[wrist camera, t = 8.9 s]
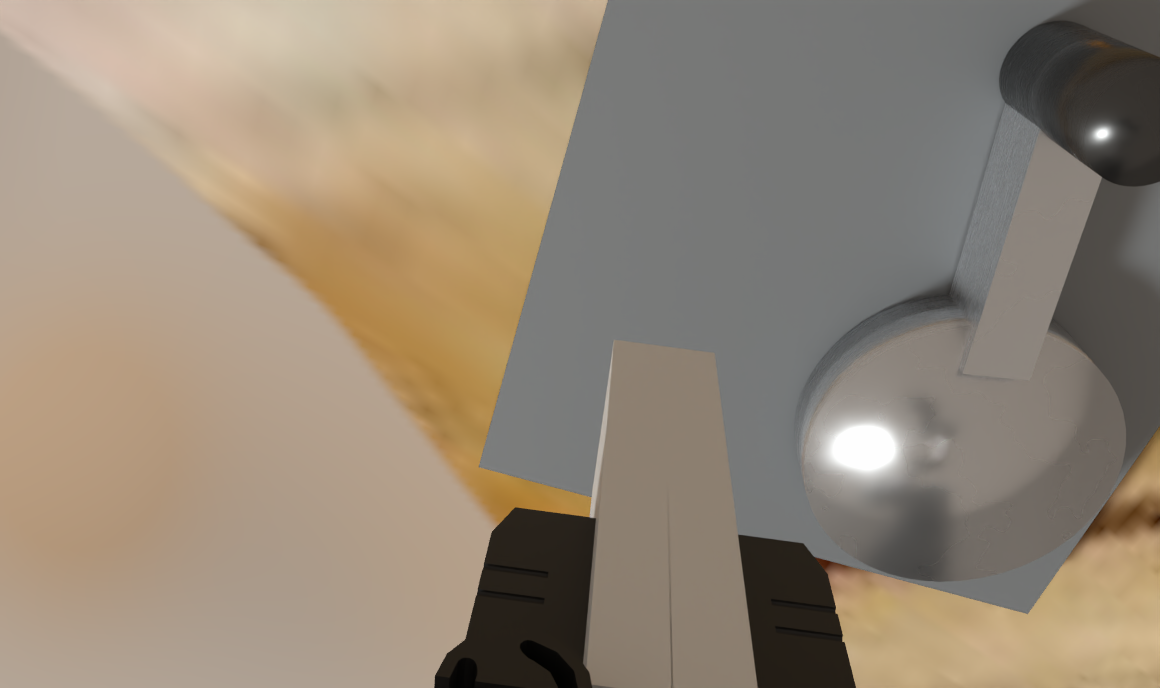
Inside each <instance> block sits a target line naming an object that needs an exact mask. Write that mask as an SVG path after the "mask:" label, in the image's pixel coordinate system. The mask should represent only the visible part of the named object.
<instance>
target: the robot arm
mask: <svg viewBox="0 0 1160 688" xmlns="http://www.w3.org/2000/svg"><path fill="white" fill-rule="evenodd" d="M835 609H836V606H835V602H834V598H833V594H832V590H831V586H830V582H829V578H828V574H827V573H826V572H825V570H824V569H823V568H822V566H821V565H820V564H819V563H818V561H817V560H816V559H815V557H814V556H813V555H812V554H811V552H810V551H809V550H808V548H807V547H806V546H805V545H804V543H798V542H791V541H783V540H776V539H768V538H761V537H753V536H746V535H738V531H737V524H736V516H735V508H734V500H733V492H732V485H731V477H730V469H729V461H728V454H727V446H726V438H725V430H724V422H723V415H722V407H721V399H720V391H719V384H718V376H717V368H716V360H715V353H712V352H704V351H696V350H689V349H681V348H673V347H666V346H658V345H651V344H643V343H635V342H628V341H620V340H614V343H613V350H612V357H611V364H610V371H609V378H608V385H607V392H606V399H605V406H604V413H603V420H602V427H601V434H600V441H599V448H598V455H597V462H596V469H595V476H594V483H593V490H592V500H591V510H590V517H583V516H575V515H568V514H560V513H553V512H545V511H538V510H530V509H523V508H514V509H513V510H512V511H511V512H510V514H509V515H508V516H507V517H506V518H505V519H504V520H503V521H502V522H501V523H500V524H499V525H498V526H497V527H496V528H495V529H494V530H493V531H492V533H491V538H490V542H489V546H488V550H487V554H486V558H485V562H484V568H483V570H482V574H481V578H480V582H479V587H478V592H477V596H476V599H475V603H474V607H473V611H472V615H471V619H470V623H469V627H468V631H467V635H466V639H465V640H464V641H463V642H462V643H460V644H459V645H458V646H457V647H455V648H454V649H453V650H452V651H450V652H449V653H447V655H446V657H445V659H444V660H443V662H442V664H441V666H440V668H439V670H438V671H437V673H436V675H435V687H434V688H856V686H855V682H854V678H853V674H852V670H851V666H850V662H849V658H848V654H847V650H846V646H845V642H842V636H843V634H842V630H841V626H840V622H839V618H838V614H835Z"/></svg>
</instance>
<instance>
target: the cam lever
mask: <svg viewBox="0 0 1160 688" xmlns="http://www.w3.org/2000/svg"><path fill="white" fill-rule="evenodd" d="M999 87H1000V92H1001V95H1002V98H1003V100H1004V102H1005V105H1004V109H1003V112H1002V115H1001V119H1000V122H999V126H998V129H997V133H996V136H995V139H994V143H993V146H992V150H991V153H990V156H989V160H988V163H987V167H986V170H985V173H984V177H983V180H982V184H981V187H980V190H979V194H978V197H977V201H976V204H975V208H974V211H973V214H972V218H971V221H970V225H969V228H968V231H967V235H966V238H965V242H964V245H963V248H962V252H961V255H960V259H959V262H958V266H957V269H956V272H955V276H954V279H953V283H952V286H951V289H950V293H949V294H938V295H933V296H927V297H922V298H918V299H914V300H911V301H908V302H905V303H901V304H898V305H896V306H894V307H891V308H889V309H887V310H884V311H882V312H880V313H878V314H876V315H874V316H872V317H871V318H869V319H867V320H865V321H864V322H862V323H860V324H859V325H858V326H856V327H855V328H853V329H852V330H851V331H849V332H848V333H847V334H845V335H844V336H843V337H842V338H841V339H840V340H839V341H838V342H837V343H835V344H834V345H833V346H832V347H831V348H830V349H829V350H828V352H827V353H826V354H825V355H824V356H823V358H822V359H821V360H820V361H819V362H818V364H817V365H816V367H815V368H814V370H813V372H812V373H811V375H810V376H809V378H808V380H807V382H806V384H805V386H804V389H803V391H802V393H801V396H800V399H799V403H798V406H797V410H796V417H795V424H794V431H795V445H796V451H797V456H798V460H799V464H800V469H801V473H802V477H803V481H804V486H805V490H806V494H807V498H808V500H809V503H810V506H811V509H812V512H813V513H814V515H815V517H816V519H817V521H818V522H819V524H820V526H821V527H822V528H823V530H824V531H825V532H826V533H827V535H828V536H829V537H830V538H831V539H832V540H833V541H834V542H835V543H836V544H837V545H838V546H839V547H840V548H841V549H842V550H844V551H845V552H847V553H848V554H849V555H851V556H852V557H854V558H855V559H857V560H859V561H861V562H862V563H864V564H866V565H868V566H870V567H872V568H875V569H877V570H880V571H882V572H885V573H888V574H892V575H895V576H899V577H903V578H908V579H915V580H921V581H936V582H948V581H964V580H972V579H979V578H984V577H988V576H992V575H997V574H1001V573H1004V572H1007V571H1010V570H1013V569H1016V568H1019V567H1021V566H1023V565H1026V564H1028V563H1030V562H1032V561H1035V560H1037V559H1039V558H1040V557H1042V556H1044V555H1046V554H1048V553H1049V552H1051V551H1053V550H1055V549H1056V548H1057V547H1059V546H1060V545H1062V544H1063V543H1065V542H1066V541H1067V540H1069V539H1070V538H1071V537H1073V536H1074V535H1075V534H1076V533H1077V532H1078V531H1079V530H1080V529H1082V528H1083V527H1084V526H1085V525H1086V524H1087V523H1088V522H1089V521H1090V519H1091V518H1092V517H1093V516H1094V515H1095V514H1096V513H1097V512H1098V510H1099V509H1100V508H1101V506H1102V505H1103V503H1104V502H1105V500H1106V499H1107V498H1108V496H1109V494H1110V492H1111V490H1112V489H1113V487H1114V485H1115V483H1116V481H1117V478H1118V476H1119V473H1120V470H1121V467H1122V464H1123V459H1124V454H1125V448H1126V426H1125V420H1124V413H1123V410H1122V407H1121V404H1120V402H1119V399H1118V396H1117V394H1116V393H1115V391H1114V389H1113V387H1112V386H1111V384H1110V382H1109V381H1108V380H1107V378H1106V377H1105V376H1104V375H1103V373H1102V372H1101V371H1100V370H1099V369H1098V367H1097V366H1096V365H1095V364H1094V363H1093V362H1092V360H1091V359H1090V358H1089V357H1088V356H1087V355H1086V353H1085V352H1084V351H1083V350H1082V349H1081V347H1080V346H1079V345H1078V344H1077V343H1076V342H1075V340H1074V339H1073V338H1072V337H1071V336H1070V335H1069V333H1068V332H1067V331H1066V330H1065V329H1064V328H1062V327H1061V326H1060V325H1059V324H1058V323H1057V322H1055V321H1054V320H1053V319H1052V316H1053V314H1054V311H1055V308H1056V305H1057V302H1058V300H1059V297H1060V294H1061V291H1062V288H1063V286H1064V283H1065V280H1066V277H1067V274H1068V272H1069V269H1070V266H1071V263H1072V260H1073V258H1074V255H1075V252H1076V249H1077V246H1078V243H1079V241H1080V238H1081V235H1082V232H1083V229H1084V227H1085V224H1086V221H1087V218H1088V215H1089V213H1090V210H1091V207H1092V204H1093V201H1094V199H1095V196H1096V193H1097V190H1098V187H1099V185H1100V182H1101V179H1102V178H1104V179H1105V180H1107V181H1109V182H1111V183H1114V184H1117V185H1122V186H1130V187H1137V186H1146V185H1151V184H1154V183H1158V182H1160V57H1158V56H1155V55H1153V54H1151V53H1148V52H1146V51H1143V50H1141V49H1139V48H1136V47H1134V46H1131V45H1129V44H1126V43H1124V42H1122V41H1119V40H1117V39H1114V38H1112V37H1110V36H1107V35H1105V34H1102V33H1100V32H1098V31H1095V30H1093V29H1090V28H1088V27H1086V26H1083V25H1081V24H1078V23H1075V22H1071V21H1052V22H1048V23H1044V24H1042V25H1039V26H1037V27H1035V28H1033V29H1031V30H1030V31H1028V32H1027V33H1025V34H1024V35H1023V36H1022V37H1020V38H1019V39H1018V40H1017V41H1016V42H1015V43H1014V45H1013V46H1012V47H1011V48H1010V50H1009V51H1008V53H1007V55H1006V57H1005V59H1004V61H1003V63H1002V66H1001V70H1000V76H999Z"/></svg>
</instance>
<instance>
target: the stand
mask: <svg viewBox="0 0 1160 688" xmlns="http://www.w3.org/2000/svg"><path fill="white" fill-rule="evenodd" d="M1052 21H1071V22H1075V23H1078V24H1081V25H1083V26H1086V27H1088V28H1090V29H1093V30H1095V31H1098V32H1100V33H1102V34H1105V35H1107V36H1110V37H1112V38H1114V39H1117V40H1119V41H1122V42H1124V43H1126V44H1129V45H1131V46H1134V47H1136V48H1139V49H1141V50H1143V51H1146V52H1148V53H1151V54H1153V55H1155V56H1158V57H1160V0H608V3H607V6H606V10H605V14H604V17H603V21H602V24H601V28H600V32H599V35H598V39H597V43H596V46H595V50H594V53H593V57H592V61H591V64H590V68H589V71H588V75H587V79H586V82H585V86H584V89H583V93H582V97H581V100H580V104H579V107H578V111H577V115H576V118H575V122H574V125H573V129H572V133H571V136H570V140H569V143H568V147H567V151H566V154H565V158H564V161H563V165H562V169H561V172H560V176H559V180H558V183H557V187H556V190H555V194H554V198H553V201H552V205H551V208H550V212H549V216H548V219H547V223H546V226H545V230H544V234H543V237H542V241H541V244H540V248H539V252H538V255H537V259H536V262H535V266H534V270H533V273H532V277H531V280H530V284H529V288H528V291H527V295H526V298H525V302H524V306H523V309H522V313H521V316H520V320H519V324H518V327H517V331H516V335H515V338H514V342H513V345H512V349H511V353H510V356H509V360H508V363H507V367H506V371H505V374H504V378H503V381H502V385H501V389H500V392H499V396H498V399H497V403H496V407H495V410H494V414H493V417H492V421H491V425H490V428H489V432H488V435H487V439H486V443H485V446H484V450H483V453H482V457H481V461H480V464H479V467H481V468H484V469H488V470H492V471H495V472H499V473H503V474H507V475H510V476H514V477H518V478H522V479H525V480H529V481H533V482H537V483H540V484H544V485H548V486H552V487H555V488H559V489H563V490H567V491H570V492H574V493H578V494H581V495H585V496H589V497H592V490H593V483H594V476H595V469H596V462H597V455H598V448H599V441H600V434H601V427H602V420H603V413H604V406H605V399H606V392H607V385H608V378H609V371H610V364H611V357H612V350H613V343H614V340H620V341H628V342H635V343H643V344H651V345H658V346H666V347H673V348H681V349H689V350H696V351H704V352H712V353H715V360H716V368H717V376H718V384H719V391H720V399H721V407H722V415H723V422H724V430H725V438H726V446H727V454H728V461H729V469H730V477H731V485H732V492H733V500H734V508H735V516H736V524H737V531H738V535H746V536H753V537H761V538H768V539H776V540H783V541H791V542H798V543H804V545H805V546H806V547H807V548H808V550H809V551H810V552H811V554H812V555H813V556H814V557H817V558H821V559H824V560H828V561H832V562H836V563H839V564H843V565H847V566H851V567H854V568H858V569H862V570H866V571H869V572H873V573H877V574H881V575H884V576H888V577H892V578H895V579H899V580H903V581H907V582H910V583H914V584H918V585H922V586H925V587H929V588H933V589H937V590H940V591H944V592H948V593H952V594H955V595H959V596H963V597H966V598H970V599H974V600H978V601H981V602H985V603H989V604H993V605H996V606H1000V607H1004V608H1008V609H1011V610H1015V611H1019V612H1023V613H1026V614H1028V613H1029V611H1030V610H1031V609H1032V607H1033V606H1034V604H1035V603H1036V601H1037V600H1038V599H1039V597H1040V596H1041V594H1042V593H1043V591H1044V590H1045V589H1046V587H1047V586H1048V584H1049V583H1050V582H1051V580H1052V579H1053V577H1054V576H1055V574H1056V573H1057V572H1058V570H1059V569H1060V567H1061V566H1062V564H1063V563H1064V562H1065V560H1066V559H1067V557H1068V556H1069V554H1070V553H1071V552H1072V550H1073V549H1074V547H1075V546H1076V544H1077V543H1078V542H1079V540H1080V539H1081V537H1082V536H1083V534H1084V533H1085V532H1086V530H1087V529H1088V527H1089V526H1090V524H1091V523H1092V522H1093V520H1094V519H1095V517H1096V516H1097V515H1098V513H1099V512H1100V510H1101V509H1102V507H1103V506H1104V505H1105V503H1106V502H1107V500H1108V499H1109V497H1110V496H1111V495H1112V493H1113V492H1114V490H1115V489H1116V487H1117V486H1118V485H1119V483H1120V482H1121V480H1122V479H1123V477H1124V476H1125V475H1126V473H1127V472H1128V470H1129V469H1130V467H1131V466H1132V465H1133V463H1134V462H1135V460H1136V459H1137V457H1138V456H1139V455H1140V453H1141V452H1142V450H1143V449H1144V448H1145V446H1146V445H1147V443H1148V442H1149V440H1150V439H1151V438H1152V436H1153V435H1154V433H1155V432H1156V430H1157V429H1158V428H1159V426H1160V182H1158V183H1154V184H1151V185H1146V186H1137V187H1130V186H1122V185H1117V184H1114V183H1111V182H1109V181H1107V180H1105V179H1104V178H1102V179H1101V182H1100V185H1099V187H1098V190H1097V193H1096V196H1095V199H1094V201H1093V204H1092V207H1091V210H1090V213H1089V215H1088V218H1087V221H1086V224H1085V227H1084V229H1083V232H1082V235H1081V238H1080V241H1079V243H1078V246H1077V249H1076V252H1075V255H1074V258H1073V260H1072V263H1071V266H1070V269H1069V272H1068V274H1067V277H1066V280H1065V283H1064V286H1063V288H1062V291H1061V294H1060V297H1059V300H1058V302H1057V305H1056V308H1055V311H1054V314H1053V316H1052V319H1053V320H1054V321H1055V322H1057V323H1058V324H1059V325H1060V326H1061V327H1062V328H1064V329H1065V330H1066V331H1067V332H1068V333H1069V335H1070V336H1071V337H1072V338H1073V339H1074V340H1075V342H1076V343H1077V344H1078V345H1079V346H1080V347H1081V349H1082V350H1083V351H1084V352H1085V353H1086V355H1087V356H1088V357H1089V358H1090V359H1091V360H1092V362H1093V363H1094V364H1095V365H1096V366H1097V367H1098V369H1099V370H1100V371H1101V372H1102V373H1103V375H1104V376H1105V377H1106V378H1107V380H1108V381H1109V382H1110V384H1111V386H1112V387H1113V389H1114V391H1115V393H1116V394H1117V396H1118V399H1119V402H1120V404H1121V407H1122V410H1123V413H1124V420H1125V426H1126V448H1125V454H1124V459H1123V464H1122V467H1121V470H1120V473H1119V476H1118V478H1117V481H1116V483H1115V485H1114V487H1113V489H1112V490H1111V492H1110V494H1109V496H1108V498H1107V499H1106V500H1105V502H1104V503H1103V505H1102V506H1101V508H1100V509H1099V510H1098V512H1097V513H1096V514H1095V515H1094V516H1093V517H1092V518H1091V519H1090V521H1089V522H1088V523H1087V524H1086V525H1085V526H1084V527H1083V528H1082V529H1080V530H1079V531H1078V532H1077V533H1076V534H1075V535H1074V536H1073V537H1071V538H1070V539H1069V540H1067V541H1066V542H1065V543H1063V544H1062V545H1060V546H1059V547H1057V548H1056V549H1055V550H1053V551H1051V552H1049V553H1048V554H1046V555H1044V556H1042V557H1040V558H1039V559H1037V560H1035V561H1032V562H1030V563H1028V564H1026V565H1023V566H1021V567H1019V568H1016V569H1013V570H1010V571H1007V572H1004V573H1001V574H997V575H992V576H988V577H984V578H979V579H972V580H964V581H948V582H936V581H921V580H915V579H908V578H903V577H899V576H895V575H892V574H888V573H885V572H882V571H880V570H877V569H875V568H872V567H870V566H868V565H866V564H864V563H862V562H861V561H859V560H857V559H855V558H854V557H852V556H851V555H849V554H848V553H847V552H845V551H844V550H842V549H841V548H840V547H839V546H838V545H837V544H836V543H835V542H834V541H833V540H832V539H831V538H830V537H829V536H828V535H827V533H826V532H825V531H824V530H823V528H822V527H821V526H820V524H819V522H818V521H817V519H816V517H815V515H814V513H813V512H812V509H811V506H810V503H809V500H808V498H807V494H806V490H805V486H804V481H803V477H802V473H801V469H800V464H799V460H798V456H797V451H796V445H795V431H794V424H795V417H796V410H797V406H798V403H799V399H800V396H801V393H802V391H803V389H804V386H805V384H806V382H807V380H808V378H809V376H810V375H811V373H812V372H813V370H814V368H815V367H816V365H817V364H818V362H819V361H820V360H821V359H822V358H823V356H824V355H825V354H826V353H827V352H828V350H829V349H830V348H831V347H832V346H833V345H834V344H835V343H837V342H838V341H839V340H840V339H841V338H842V337H843V336H844V335H845V334H847V333H848V332H849V331H851V330H852V329H853V328H855V327H856V326H858V325H859V324H860V323H862V322H864V321H865V320H867V319H869V318H871V317H872V316H874V315H876V314H878V313H880V312H882V311H884V310H887V309H889V308H891V307H894V306H896V305H898V304H901V303H905V302H908V301H911V300H914V299H918V298H922V297H927V296H933V295H938V294H949V293H950V289H951V286H952V283H953V279H954V276H955V272H956V269H957V266H958V262H959V259H960V255H961V252H962V248H963V245H964V242H965V238H966V235H967V231H968V228H969V225H970V221H971V218H972V214H973V211H974V208H975V204H976V201H977V197H978V194H979V190H980V187H981V184H982V180H983V177H984V173H985V170H986V167H987V163H988V160H989V156H990V153H991V150H992V146H993V143H994V139H995V136H996V133H997V129H998V126H999V122H1000V119H1001V115H1002V112H1003V109H1004V105H1005V102H1004V100H1003V98H1002V95H1001V92H1000V87H999V76H1000V70H1001V66H1002V63H1003V61H1004V59H1005V57H1006V55H1007V53H1008V51H1009V50H1010V48H1011V47H1012V46H1013V45H1014V43H1015V42H1016V41H1017V40H1018V39H1019V38H1020V37H1022V36H1023V35H1024V34H1025V33H1027V32H1028V31H1030V30H1031V29H1033V28H1035V27H1037V26H1039V25H1042V24H1044V23H1048V22H1052Z"/></svg>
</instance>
